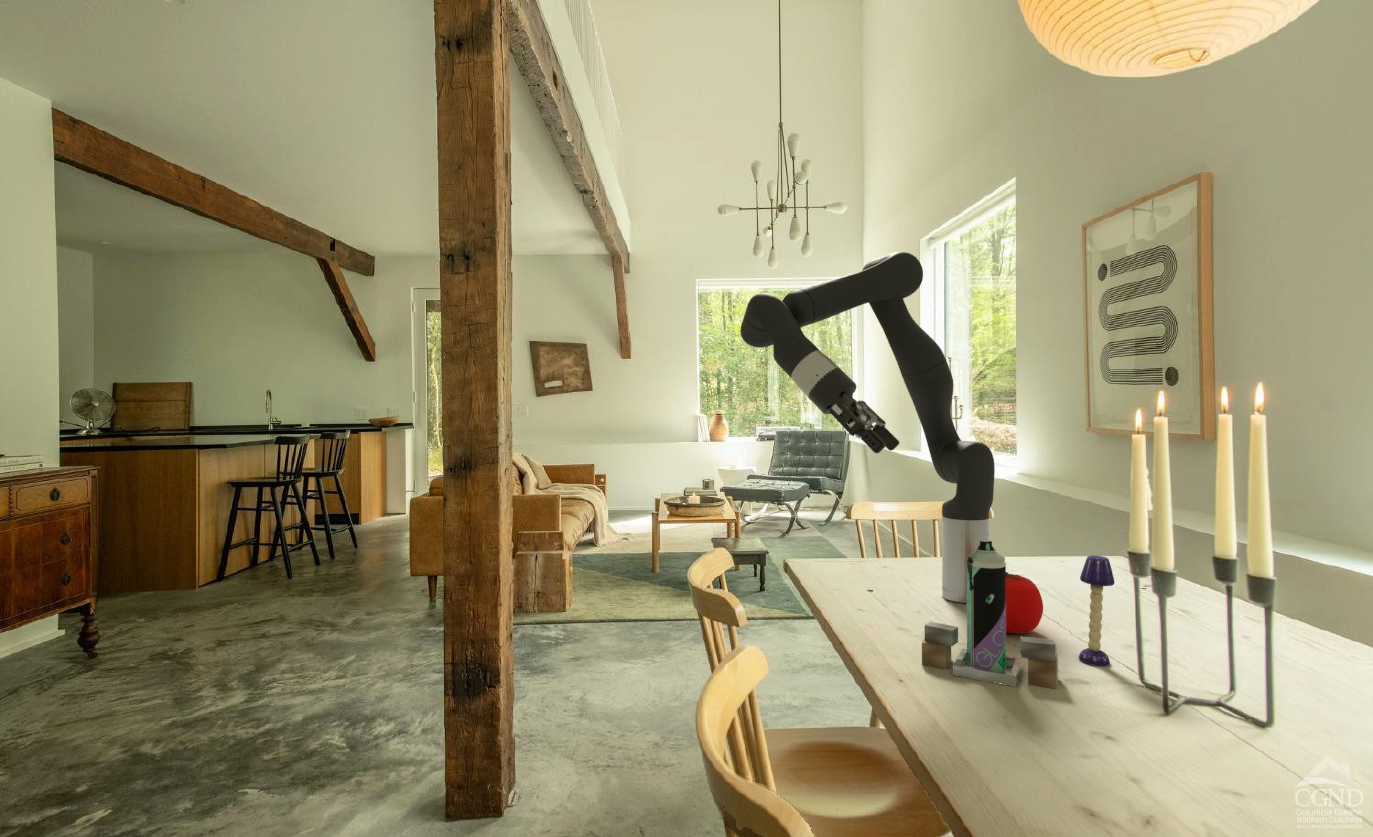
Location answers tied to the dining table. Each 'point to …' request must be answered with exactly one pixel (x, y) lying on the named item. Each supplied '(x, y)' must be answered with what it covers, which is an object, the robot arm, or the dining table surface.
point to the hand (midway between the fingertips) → (888, 448)
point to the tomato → (1022, 604)
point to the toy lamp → (1096, 606)
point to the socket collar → (988, 674)
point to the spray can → (986, 609)
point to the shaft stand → (1034, 649)
